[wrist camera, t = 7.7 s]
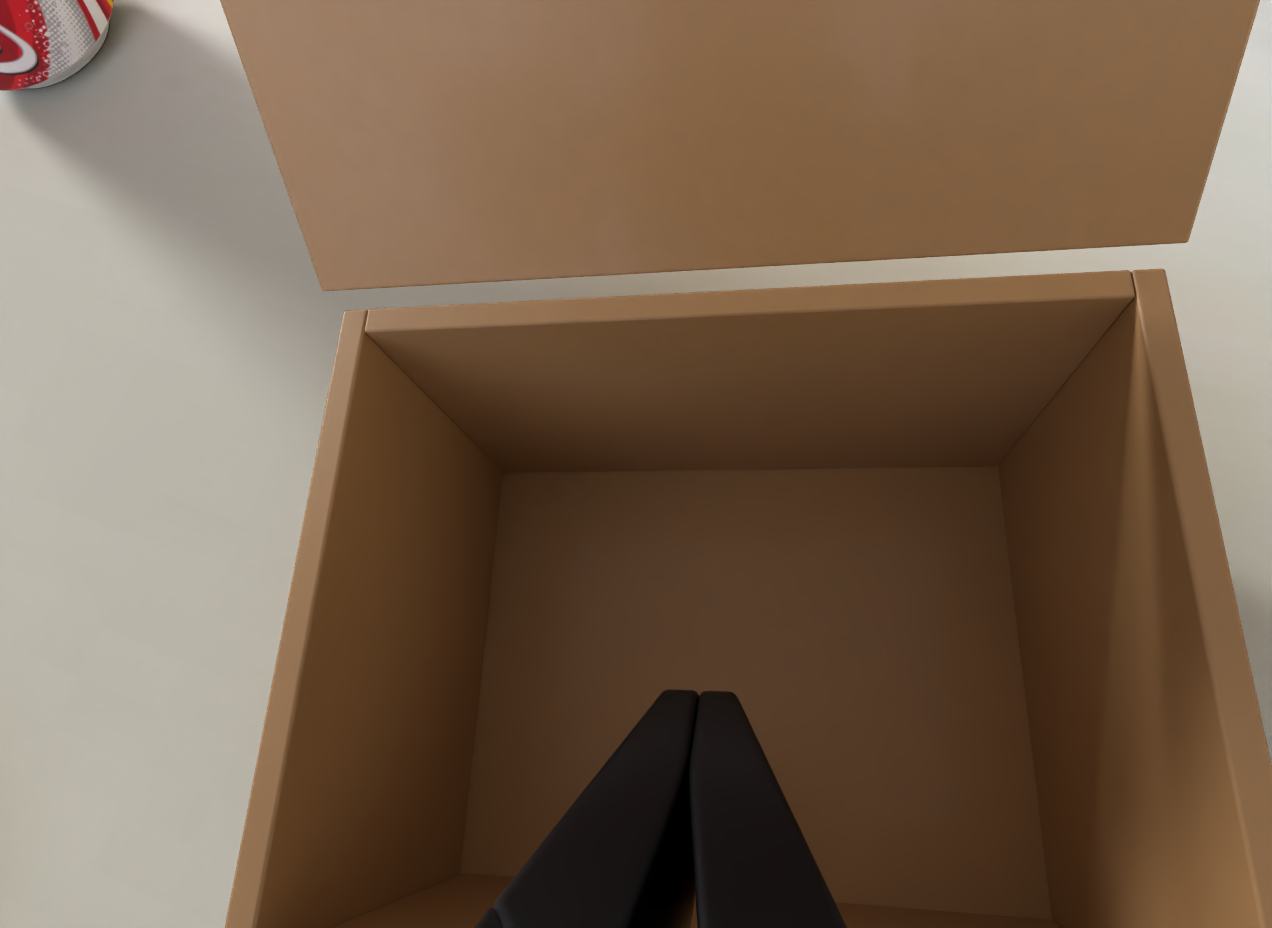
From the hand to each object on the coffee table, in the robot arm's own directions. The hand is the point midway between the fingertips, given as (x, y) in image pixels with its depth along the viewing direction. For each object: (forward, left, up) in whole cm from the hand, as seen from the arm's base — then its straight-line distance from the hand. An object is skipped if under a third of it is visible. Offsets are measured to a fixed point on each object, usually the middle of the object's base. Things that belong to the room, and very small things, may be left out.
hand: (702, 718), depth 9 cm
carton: (0, -1, -10) cm, 11 cm away
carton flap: (+3, -8, +1) cm, 9 cm away
